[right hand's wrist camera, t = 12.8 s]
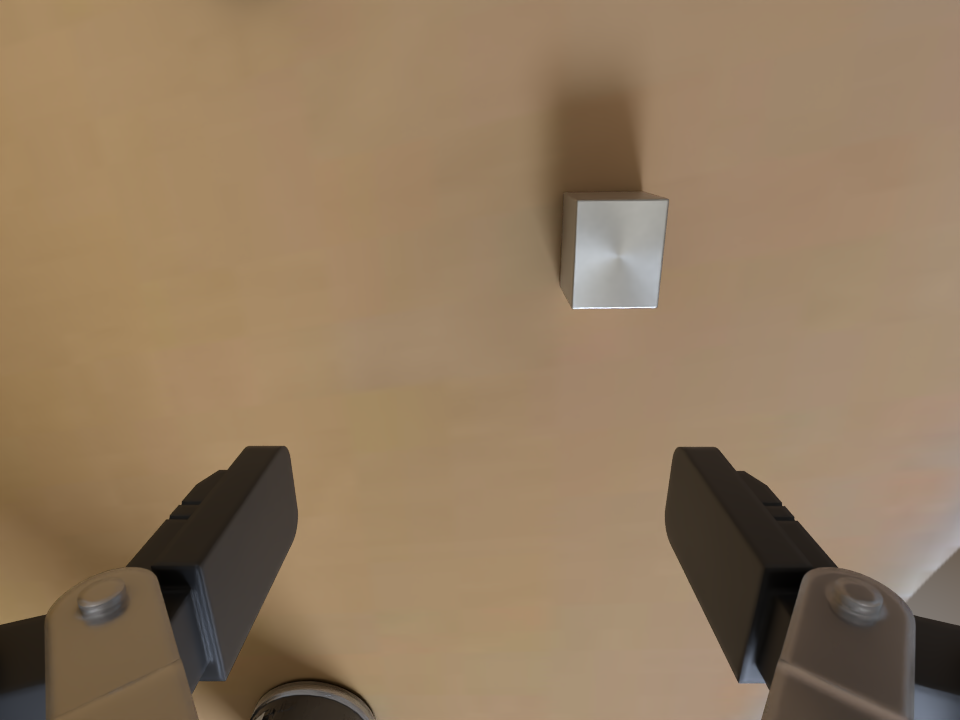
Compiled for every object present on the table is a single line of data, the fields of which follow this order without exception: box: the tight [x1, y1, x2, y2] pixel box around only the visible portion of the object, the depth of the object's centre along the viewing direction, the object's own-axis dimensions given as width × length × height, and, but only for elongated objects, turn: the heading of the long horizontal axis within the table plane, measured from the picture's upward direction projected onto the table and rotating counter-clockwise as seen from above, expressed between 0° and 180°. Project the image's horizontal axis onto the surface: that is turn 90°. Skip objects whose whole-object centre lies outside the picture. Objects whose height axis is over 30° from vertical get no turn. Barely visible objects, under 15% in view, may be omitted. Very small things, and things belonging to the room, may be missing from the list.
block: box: [560, 191, 669, 309], centre depth 26 cm, size 4×5×4 cm
